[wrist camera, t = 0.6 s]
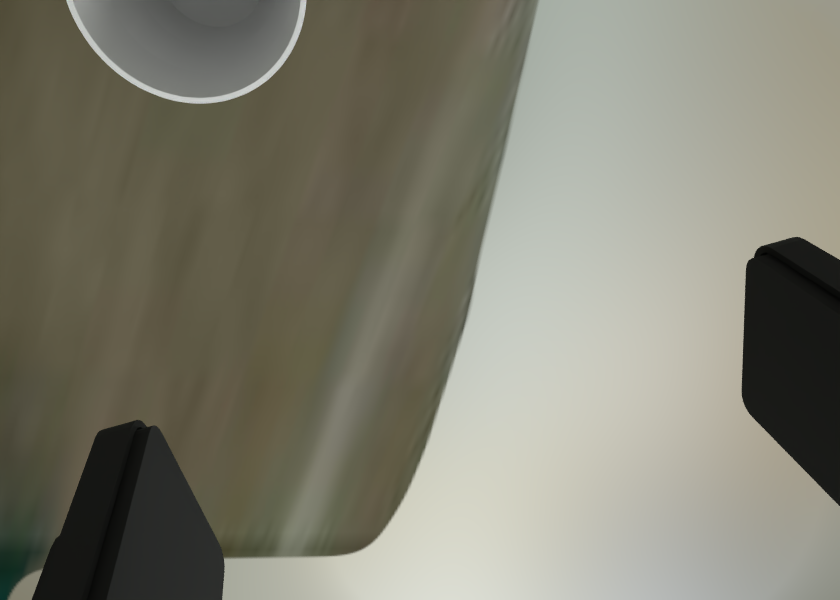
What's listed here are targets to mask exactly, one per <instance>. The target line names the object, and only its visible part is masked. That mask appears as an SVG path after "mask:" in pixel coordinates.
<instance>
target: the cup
mask: <svg viewBox="0 0 840 600" xmlns="http://www.w3.org/2000/svg"><path fill="white" fill-rule="evenodd" d="M66 1H67V4H68V6H69V9H70V11H71V14H72V16H73V18H74V20H75V22H76V24H77V26H78V27H79V29H80V31H81V32H82V34H83V36H84V37H85V39H86V40H87V42H88V43H89V44H90V46H91V47H92V48H93V49H94V51H95V52H96V53H97V54H98V55H99V56H100V57H101V58H102V59H103V61H104V62H106V63H107V64H108V65H109V66H110V67H111V68H112V69H113V70H114V71H116V72H117V73H118V74H119V75H121V76H122V77H123V78H125V79H126V80H128V81H129V82H131V83H132V84H134V85H136V86H138V87H139V88H141V89H143V90H145V91H148V92H150V93H152V94H155V95H157V96H160V97H163V98H166V99H170V100H174V101H179V102H186V103H214V102H221V101H226V100H229V99H233V98H236V97H239V96H241V95H244V94H246V93H248V92H250V91H252V90H254V89H255V88H257V87H258V86H260V85H261V84H263V83H264V82H265V81H267V80H268V79H269V78H270V77H271V76H272V75H273V74H274V73H275V72H276V71H277V70H278V69H279V68H280V67H281V66H282V64H283V63H284V62H285V60H286V59H287V58H288V56H289V54H290V53H291V51H292V49H293V47H294V45H295V43H296V41H297V39H298V36H299V34H300V31H301V28H302V24H303V20H304V15H305V9H306V0H66Z"/></svg>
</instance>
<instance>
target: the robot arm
mask: <svg viewBox="0 0 840 600" xmlns="http://www.w3.org/2000/svg"><path fill="white" fill-rule="evenodd" d="M742 398H743V402H744V405H745V407H746V409H747V410H748V412H749V414H750V415H751V416H752V417H753V418H754V419H755V420H756V421H757V422H758V423H759V424H760V425H761V426H762V427H763V428H764V429H765V430H766V431H767V432H768V433H769V434H770V435H771V436H772V437H773V438H774V440H776V441H777V443H778V444H779V445H780V446H781V447H782V448H783V449H784V450H785V451H786V452H787V453H788V454H789V455H790V456H791V457H793V459H794V460H795V461H796V462H797V463H798V464H799V465H800V466H801V467H802V468H803V469H804V470H805V471H806V472H807V473H808V474H809V475H810V476H811V477H812V478H813V479H814V480H815V481H816V482H817V483H818V484H819V485H820V486H821V487H822V488H823V489H824V491H825V492H827V494H829V496H830V497H831V498H832V499H833V500H834V501H835V502H836V503H837V504H838V505H839V506H840V260H839V259H837V258H835V257H834V256H832V255H830V254H829V253H827V252H825V251H823V250H822V249H820V248H818V247H816V246H815V245H813V244H811V243H810V242H808V241H806V240H804V239H802V238H800V237H793V238H789V239H786V240H782V241H779V242H775V243H771V244H768V245H764V246H761V247H760V248H758V249H757V251H756V253H755V256H754V258H752V259H751V260H749V261H748V263H747V267H746V285H745V314H744V341H743V370H742ZM223 581H224V558H223V553H222V550H221V547H220V545H219V543H218V541H217V539H216V537H215V535H214V533H213V531H212V529H211V527H210V525H209V523H208V521H207V519H206V517H205V515H204V514H203V512H202V510H201V508H200V506H199V504H198V502H197V500H196V498H195V496H194V494H193V492H192V490H191V488H190V486H189V485H188V483H187V481H186V479H185V477H184V475H183V473H182V471H181V469H180V467H179V465H178V463H177V461H176V459H175V458H174V456H173V454H172V452H171V450H170V448H169V446H168V444H167V442H166V440H165V438H164V436H163V434H162V433H161V431H160V429H159V428H158V427H157V426H150V427H146V425H145V424H144V423H143V422H142V421H140V420H136V421H132V422H129V423H125V424H121V425H118V426H114V427H111V428H107V429H103V430H101V431H99V432H98V433H97V435H96V437H95V440H94V443H93V445H92V448H91V451H90V454H89V456H88V459H87V462H86V465H85V468H84V470H83V473H82V476H81V479H80V481H79V484H78V487H77V490H76V492H75V495H74V498H73V501H72V503H71V506H70V509H69V512H68V514H67V517H66V520H65V523H64V526H63V528H62V531H61V534H60V536H59V537H57V538H56V539H55V541H54V543H53V545H52V547H51V549H50V552H49V554H48V557H47V560H46V562H45V565H44V568H43V571H42V574H41V576H40V579H39V582H38V584H37V587H36V590H35V593H34V595H33V598H32V600H222V593H223Z"/></svg>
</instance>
